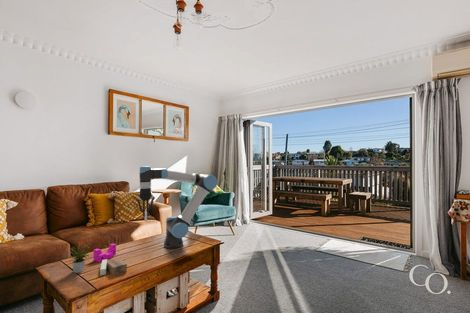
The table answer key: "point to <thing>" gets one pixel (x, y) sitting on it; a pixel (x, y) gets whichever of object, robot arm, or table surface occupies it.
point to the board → (103, 267)
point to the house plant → (78, 259)
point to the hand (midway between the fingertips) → (145, 220)
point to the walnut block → (116, 266)
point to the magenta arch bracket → (108, 254)
